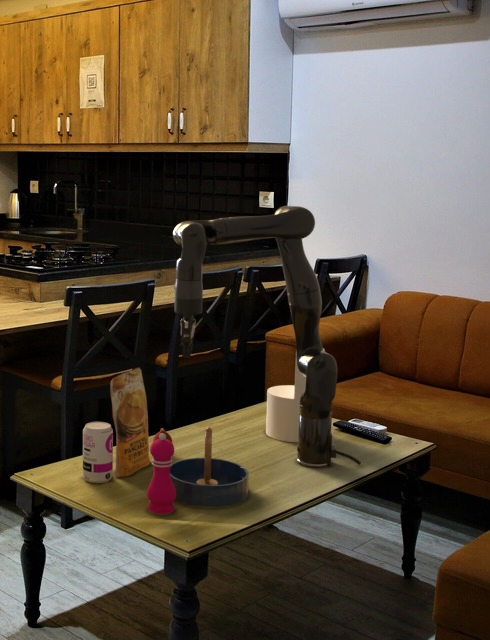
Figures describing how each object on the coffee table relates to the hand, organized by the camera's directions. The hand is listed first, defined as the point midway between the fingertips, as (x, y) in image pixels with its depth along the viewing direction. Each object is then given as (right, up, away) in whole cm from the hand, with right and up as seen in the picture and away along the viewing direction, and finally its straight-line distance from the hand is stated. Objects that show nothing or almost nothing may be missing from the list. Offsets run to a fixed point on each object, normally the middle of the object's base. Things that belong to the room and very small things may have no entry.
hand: (187, 354), depth 240 cm
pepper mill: (-8, -37, -21) cm, 44 cm away
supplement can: (-25, -34, +1) cm, 42 cm away
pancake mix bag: (-15, -33, +9) cm, 38 cm away
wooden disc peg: (+4, -35, -9) cm, 37 cm away
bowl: (+4, -36, -9) cm, 37 cm away
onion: (-6, -32, +22) cm, 39 cm away
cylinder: (+38, -29, +43) cm, 64 cm away
